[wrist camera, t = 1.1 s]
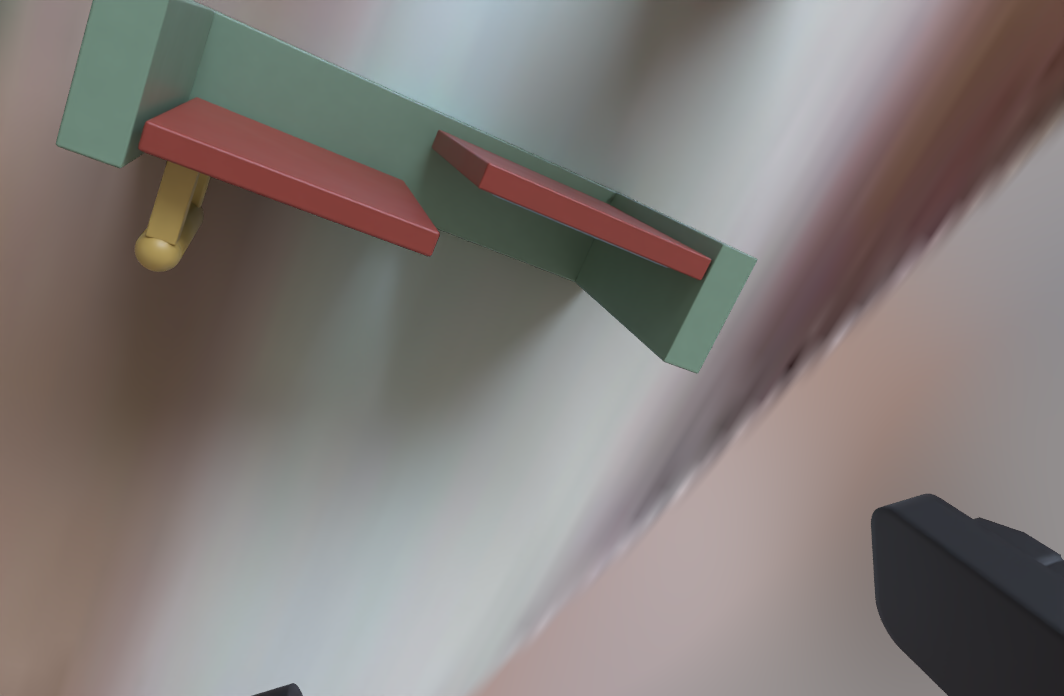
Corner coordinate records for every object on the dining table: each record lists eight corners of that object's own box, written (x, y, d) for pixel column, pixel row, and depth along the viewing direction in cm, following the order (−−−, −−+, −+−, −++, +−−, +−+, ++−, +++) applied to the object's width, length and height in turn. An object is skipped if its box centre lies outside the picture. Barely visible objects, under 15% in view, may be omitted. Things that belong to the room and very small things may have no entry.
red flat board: (368, 275, 31) (389, 360, 22) (162, 204, 28) (100, 272, 19) (404, 180, 30) (441, 233, 21) (195, 96, 27) (145, 119, 18)
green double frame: (590, 283, 36) (698, 374, 26) (143, 109, 28) (54, 145, 18) (630, 198, 34) (758, 259, 25) (177, -7, 27) (101, -36, 17)
